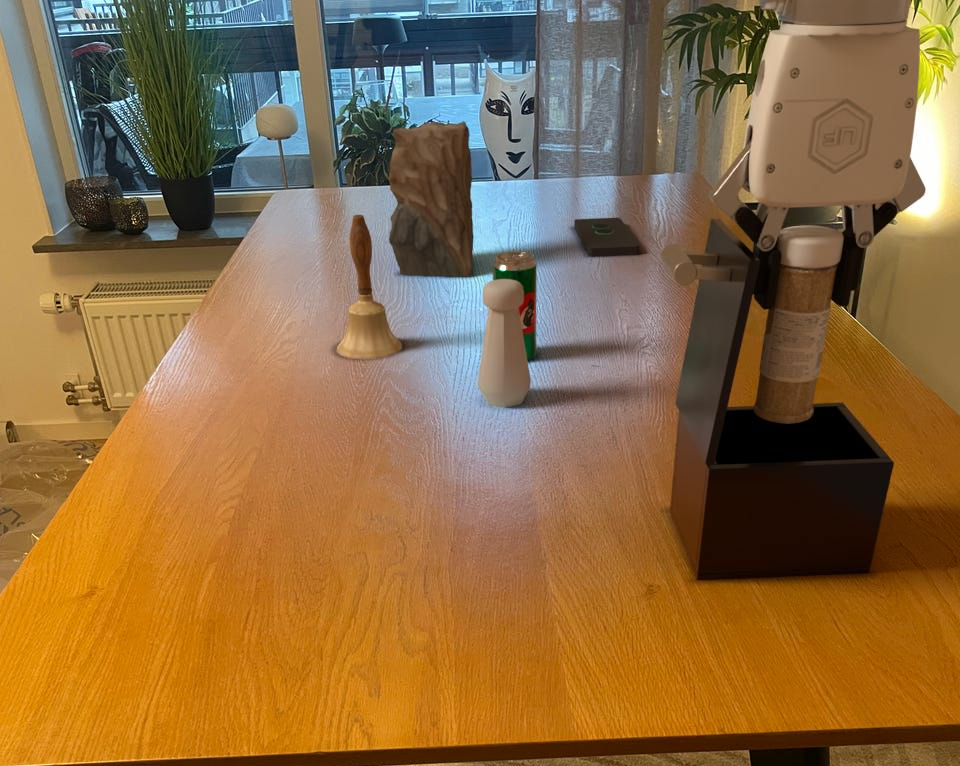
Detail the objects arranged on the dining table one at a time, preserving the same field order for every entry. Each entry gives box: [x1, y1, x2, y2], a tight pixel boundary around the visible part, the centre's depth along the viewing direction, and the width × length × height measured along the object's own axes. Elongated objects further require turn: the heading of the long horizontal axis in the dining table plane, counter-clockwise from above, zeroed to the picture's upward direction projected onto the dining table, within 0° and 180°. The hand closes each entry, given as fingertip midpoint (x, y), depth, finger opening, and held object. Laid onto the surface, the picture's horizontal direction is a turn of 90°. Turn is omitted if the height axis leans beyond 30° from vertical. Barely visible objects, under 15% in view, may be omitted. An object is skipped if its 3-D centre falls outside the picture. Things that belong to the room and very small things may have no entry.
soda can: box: [492, 250, 538, 361], centre depth 118 cm, size 5×5×12 cm
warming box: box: [669, 402, 895, 581], centre depth 81 cm, size 14×12×10 cm
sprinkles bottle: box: [753, 225, 844, 424], centre depth 73 cm, size 5×5×14 cm
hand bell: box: [336, 214, 403, 360], centre depth 121 cm, size 8×8×16 cm
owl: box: [388, 120, 474, 278], centre depth 150 cm, size 13×13×20 cm
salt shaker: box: [477, 279, 532, 409], centre depth 107 cm, size 6×6×13 cm
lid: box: [660, 218, 760, 464], centre depth 73 cm, size 14×12×5 cm
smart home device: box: [573, 217, 640, 258], centre depth 166 cm, size 8×2×20 cm
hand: (800, 299), depth 72 cm, fingers closed on sprinkles bottle, 4 cm apart
